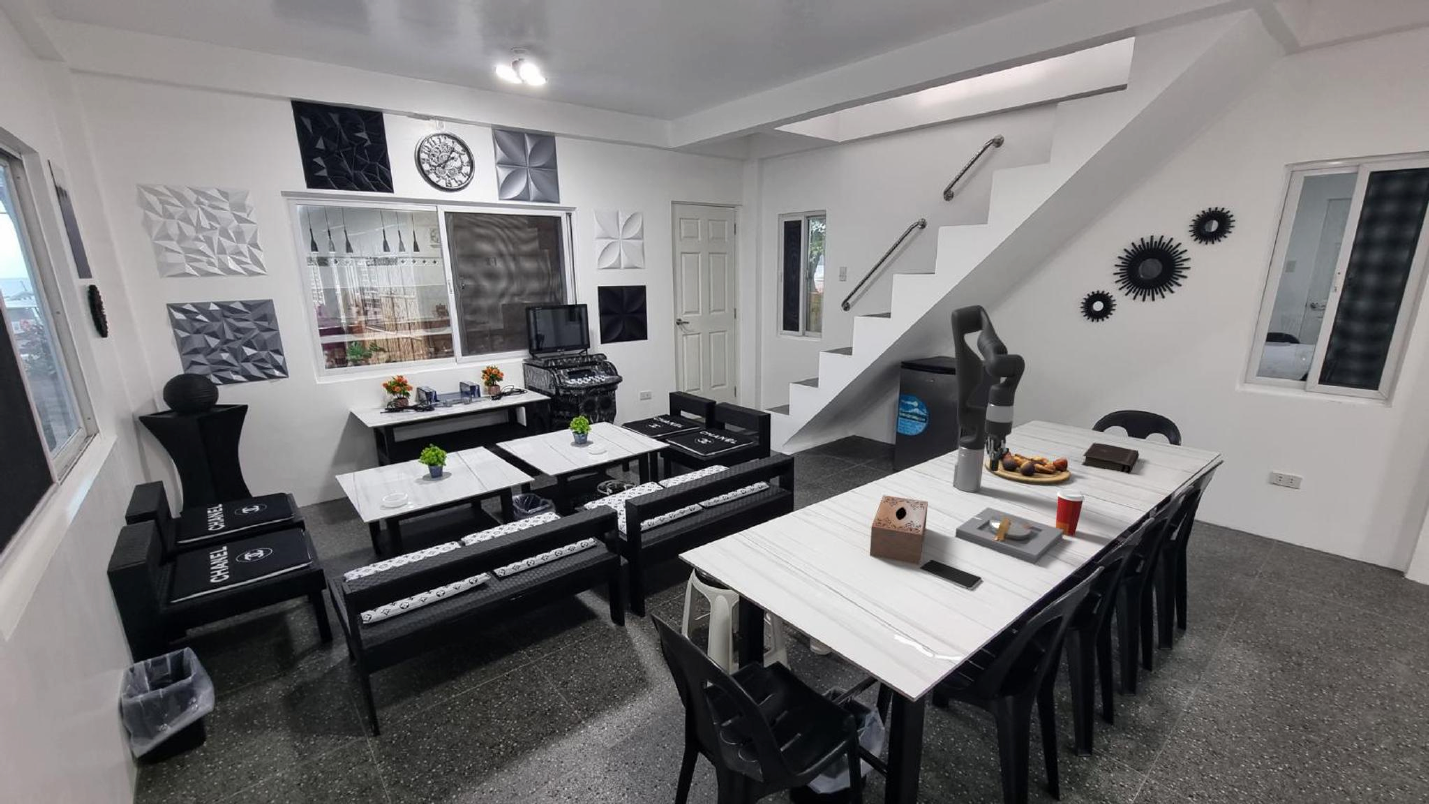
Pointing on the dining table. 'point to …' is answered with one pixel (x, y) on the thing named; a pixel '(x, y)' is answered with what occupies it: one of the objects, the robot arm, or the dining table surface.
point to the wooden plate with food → (1031, 469)
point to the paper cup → (1068, 510)
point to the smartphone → (950, 574)
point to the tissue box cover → (899, 529)
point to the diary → (1110, 457)
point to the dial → (1010, 527)
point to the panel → (1024, 550)
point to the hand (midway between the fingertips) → (993, 470)
